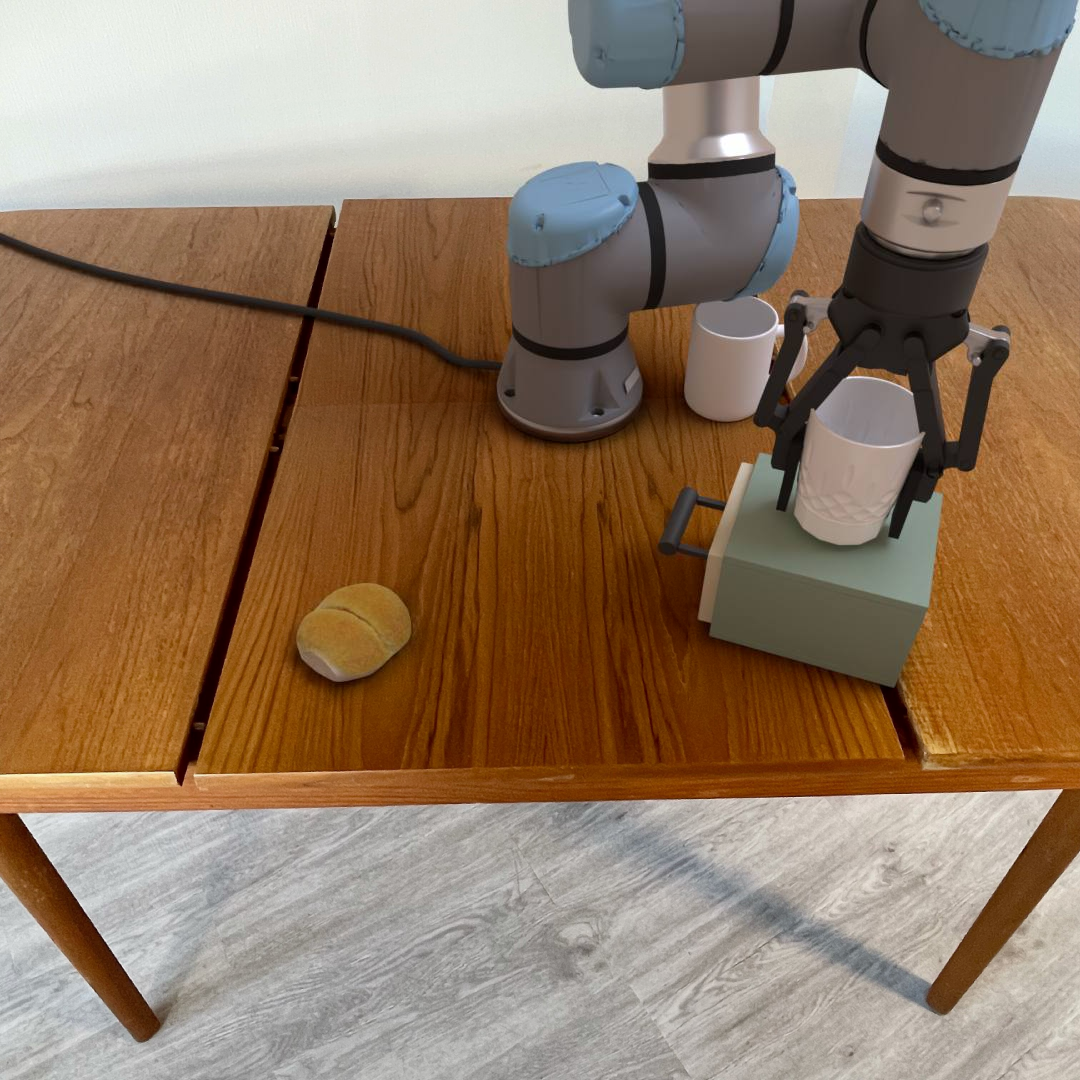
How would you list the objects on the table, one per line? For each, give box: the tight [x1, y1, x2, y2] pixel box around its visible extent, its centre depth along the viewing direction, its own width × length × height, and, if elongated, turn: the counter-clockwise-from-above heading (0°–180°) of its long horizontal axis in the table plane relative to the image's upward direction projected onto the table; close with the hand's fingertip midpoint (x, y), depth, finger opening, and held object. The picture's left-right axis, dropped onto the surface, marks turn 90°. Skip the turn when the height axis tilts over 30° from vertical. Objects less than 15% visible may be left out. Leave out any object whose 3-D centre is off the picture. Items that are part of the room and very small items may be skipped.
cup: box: [683, 295, 809, 423], centre depth 94 cm, size 8×12×10 cm
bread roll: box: [296, 582, 412, 683], centre depth 74 cm, size 8×9×4 cm
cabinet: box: [708, 452, 944, 688], centre depth 74 cm, size 15×13×10 cm
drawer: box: [657, 461, 755, 624], centre depth 75 cm, size 18×11×8 cm, turn 69°
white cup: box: [794, 375, 925, 545], centre depth 67 cm, size 8×8×10 cm
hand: (838, 512), depth 70 cm, fingers closed on white cup, 8 cm apart
